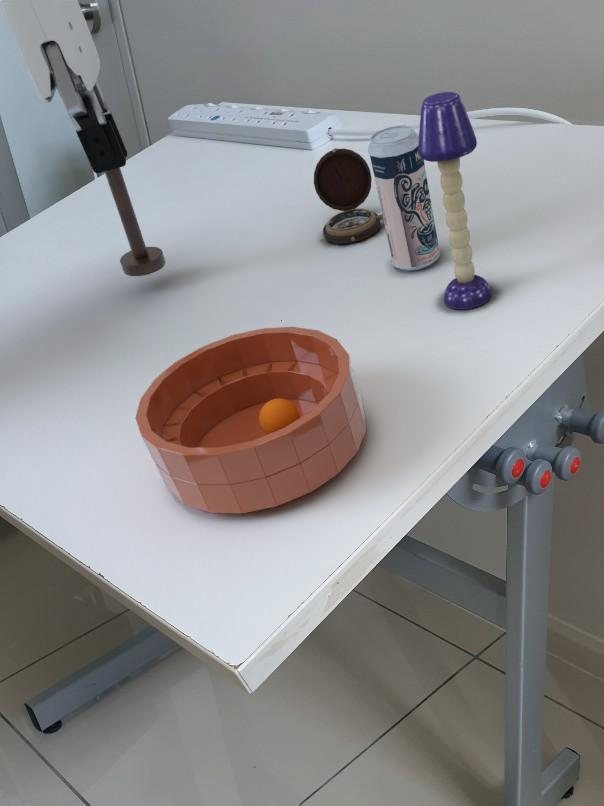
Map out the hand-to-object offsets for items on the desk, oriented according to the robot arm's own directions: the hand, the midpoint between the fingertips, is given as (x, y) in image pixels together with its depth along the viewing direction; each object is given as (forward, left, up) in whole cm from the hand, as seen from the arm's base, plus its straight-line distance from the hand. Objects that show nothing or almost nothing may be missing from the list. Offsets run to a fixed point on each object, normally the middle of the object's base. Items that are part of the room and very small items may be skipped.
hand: (111, 163), depth 84 cm
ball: (+14, -34, -10) cm, 38 cm away
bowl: (+13, -34, -13) cm, 39 cm away
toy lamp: (+31, -17, -13) cm, 38 cm away
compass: (+22, +3, -13) cm, 25 cm away
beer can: (+27, -8, -13) cm, 31 cm away
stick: (-1, 0, -10) cm, 10 cm away
